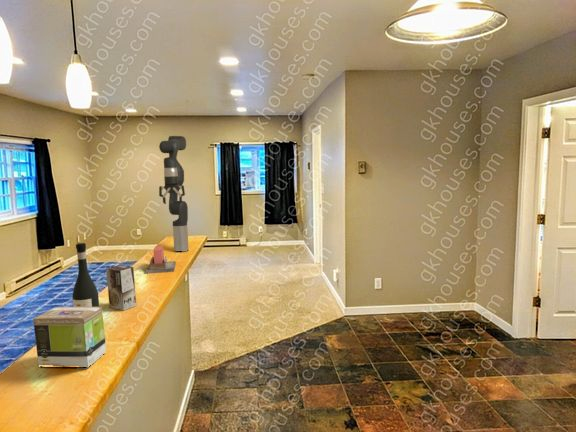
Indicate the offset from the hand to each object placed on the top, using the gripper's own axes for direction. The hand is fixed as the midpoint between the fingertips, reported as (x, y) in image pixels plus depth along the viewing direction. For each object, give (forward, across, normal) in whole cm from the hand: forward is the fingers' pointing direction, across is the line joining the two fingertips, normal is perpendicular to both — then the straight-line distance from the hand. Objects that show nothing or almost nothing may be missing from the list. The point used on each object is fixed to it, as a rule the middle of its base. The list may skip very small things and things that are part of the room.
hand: (172, 203), depth 236 cm
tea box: (+34, -23, -122) cm, 129 cm away
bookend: (+33, -3, -17) cm, 37 cm away
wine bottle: (+34, -25, -97) cm, 106 cm away
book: (+32, -8, -17) cm, 37 cm away
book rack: (+34, -8, -17) cm, 39 cm away
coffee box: (+34, -17, -77) cm, 86 cm away
